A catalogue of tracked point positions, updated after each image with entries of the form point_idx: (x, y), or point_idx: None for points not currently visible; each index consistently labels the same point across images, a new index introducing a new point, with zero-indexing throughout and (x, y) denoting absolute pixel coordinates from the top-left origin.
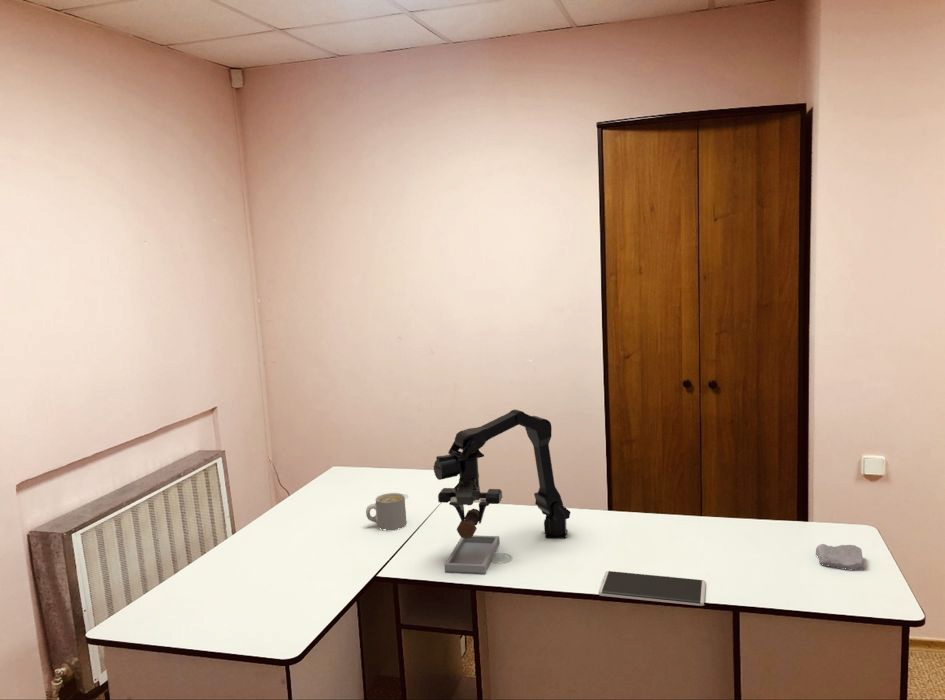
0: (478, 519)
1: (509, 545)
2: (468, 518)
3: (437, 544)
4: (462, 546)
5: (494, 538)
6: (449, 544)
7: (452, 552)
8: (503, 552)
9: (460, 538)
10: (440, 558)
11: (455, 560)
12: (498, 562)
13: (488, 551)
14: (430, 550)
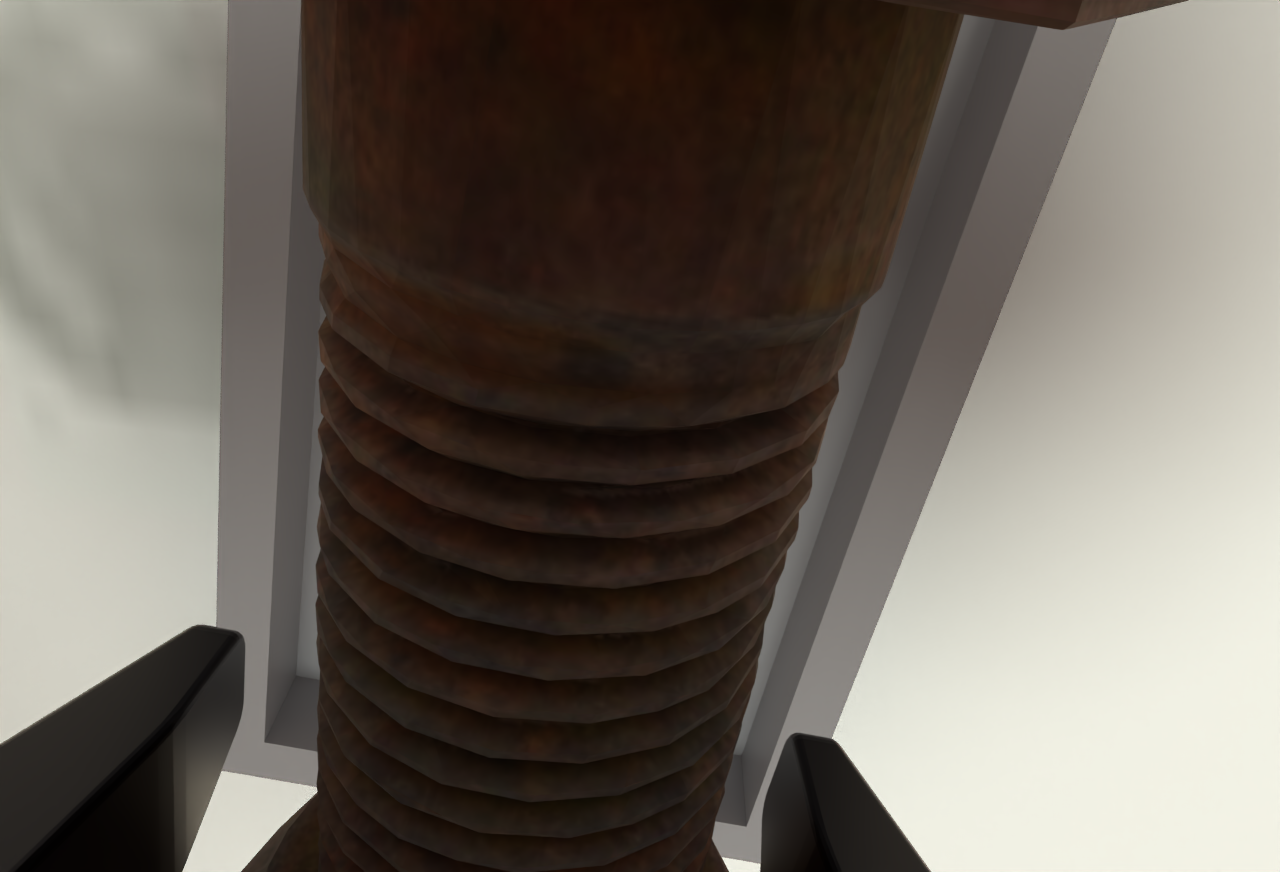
0: (287, 851)
1: (107, 625)
2: (565, 677)
3: (1131, 766)
4: (784, 634)
5: (288, 731)
6: (963, 748)
7: (1001, 268)
8: (144, 420)
9: None
10: (1167, 323)
11: (930, 147)
12: (144, 40)
13: (289, 233)
14: (1270, 611)
